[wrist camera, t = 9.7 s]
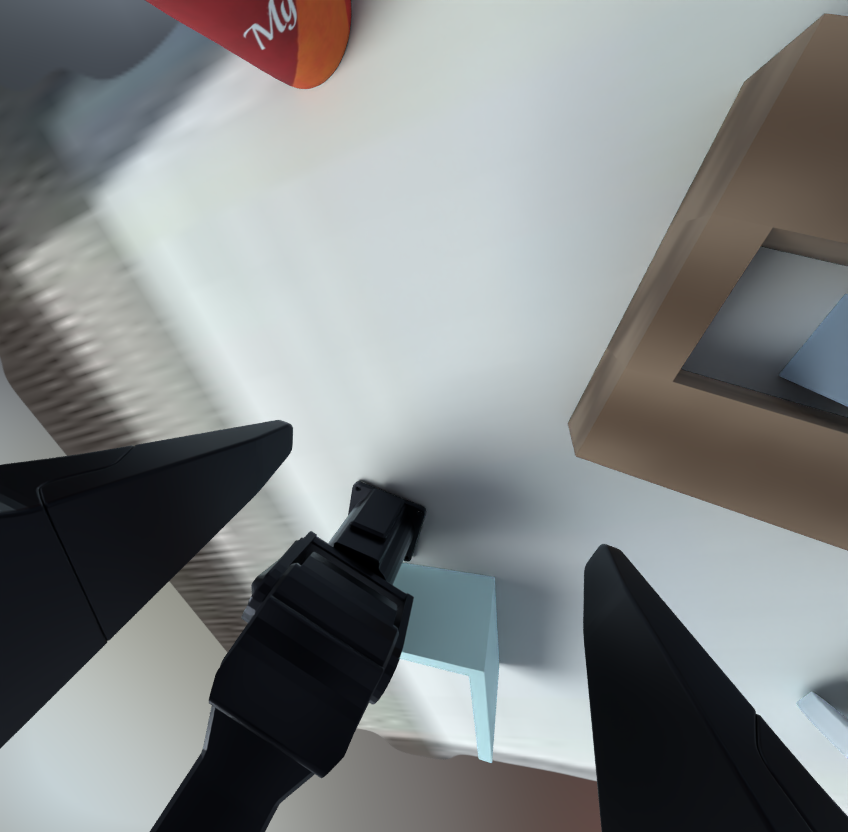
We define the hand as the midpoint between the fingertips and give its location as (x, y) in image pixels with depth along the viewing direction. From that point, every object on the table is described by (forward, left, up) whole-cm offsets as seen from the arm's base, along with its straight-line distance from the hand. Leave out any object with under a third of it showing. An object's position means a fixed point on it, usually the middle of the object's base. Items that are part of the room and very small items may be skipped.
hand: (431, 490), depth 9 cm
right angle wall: (-25, -3, -13) cm, 29 cm away
